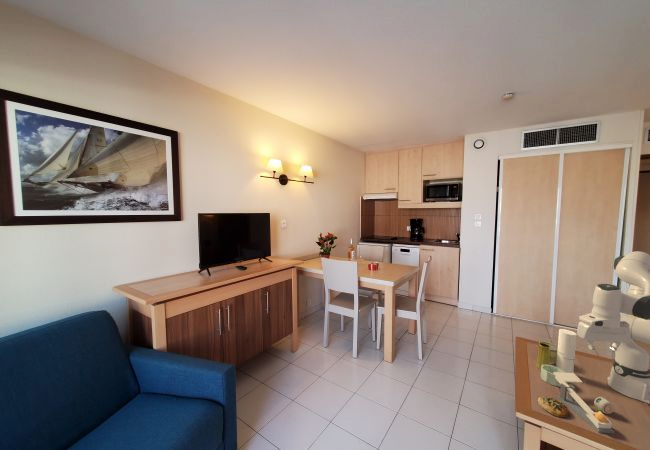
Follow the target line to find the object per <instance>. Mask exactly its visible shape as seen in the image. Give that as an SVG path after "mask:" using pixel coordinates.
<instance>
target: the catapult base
mask: <svg viewBox="0 0 650 450" xmlns="http://www.w3.org/2000/svg"><path fill="white" fill-rule="evenodd" d="M568 385H569V386H570V387H571V388H572V390H573V391H574V392H575V393H576V386H574V385H573V383H569V384H568ZM559 388H560V389H559V394H556V395H555V397H556V399H557V400H558V401H559V402H561V403H563V404H564V405H565V406H566V407H567V408H569V410H571V411H572V412H574V413H575V414H576V415H577V416H578V417H579V418H581V419H582V420H583V421H585V422H586V423H587V424H588V425H589V426H590V427H591V428H592V429H594V430H595V431H597V433H603V434H604V433H605V434H609V433H610V434H614V430H613V429H612V427H611V428H610V429H604V428H597V427H596V426H595V425H594V424H593V422H592V421H591V420H590V419H589V418H588V417H587V416H586V414H587V412H586V411H585V410H584V409H583V408H582V407H581V406H580V405H579V404H578V403H577V401H576V400H575V399H574V398H573V397H572V396H571V395H570V394H569V393H568V392H567V387H566V386H565V385H564V384H561V387H559Z"/></svg>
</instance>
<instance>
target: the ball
mask: <svg viewBox="0 0 650 450" xmlns="http://www.w3.org/2000/svg"><path fill="white" fill-rule="evenodd" d="M595 417H596V418H597V419H598V420H599V421H600V422H604V423H606V422H607V419H608V417H607V416H605V414H604V413H602V414H600V413H596V414H595Z"/></svg>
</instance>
